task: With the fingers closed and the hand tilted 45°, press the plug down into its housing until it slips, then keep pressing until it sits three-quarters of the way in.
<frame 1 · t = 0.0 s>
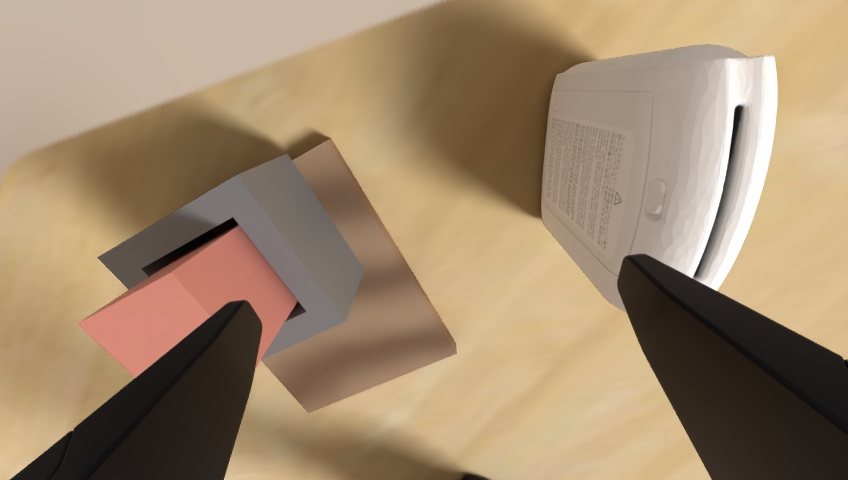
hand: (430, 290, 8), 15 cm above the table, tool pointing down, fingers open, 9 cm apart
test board: (320, 291, 27), on the table
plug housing: (280, 237, 25), resting on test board
plug: (211, 304, 17), point 9 cm above the table, slide at 0.0 cm
photo printer: (573, 152, 22), on the table
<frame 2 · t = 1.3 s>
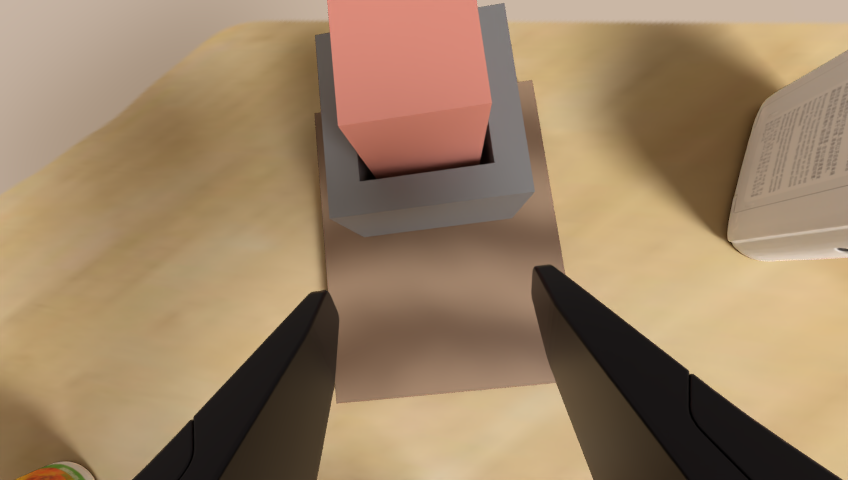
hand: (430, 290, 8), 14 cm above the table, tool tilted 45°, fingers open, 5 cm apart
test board: (438, 238, 22), on the table
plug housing: (429, 163, 23), resting on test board
plug: (415, 93, 15), point 8 cm above the table, slide at 0.0 cm
photo printer: (767, 181, 21), on the table
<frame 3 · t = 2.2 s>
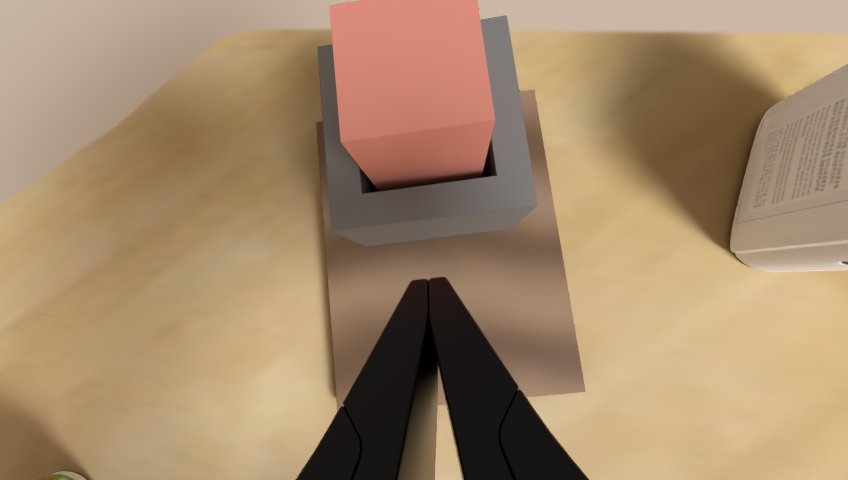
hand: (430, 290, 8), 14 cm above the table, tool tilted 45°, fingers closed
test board: (440, 248, 22), on the table
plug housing: (431, 172, 23), resting on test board
plug: (417, 106, 15), point 9 cm above the table, slide at 0.0 cm
photo printer: (770, 191, 21), on the table
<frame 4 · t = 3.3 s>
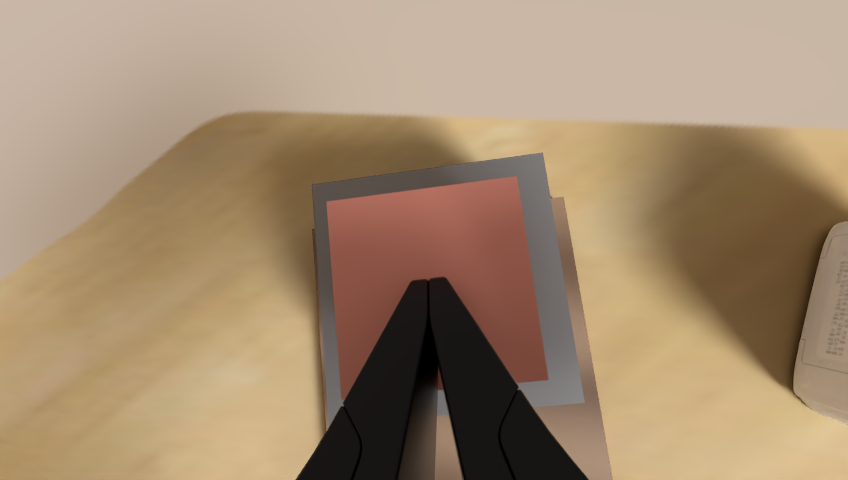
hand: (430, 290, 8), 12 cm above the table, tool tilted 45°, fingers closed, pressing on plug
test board: (455, 376, 19), on the table
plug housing: (444, 285, 20), resting on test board
plug: (436, 285, 12), point 8 cm above the table, slide at 0.1 cm, touching gripper
photo printer: (838, 318, 18), on the table
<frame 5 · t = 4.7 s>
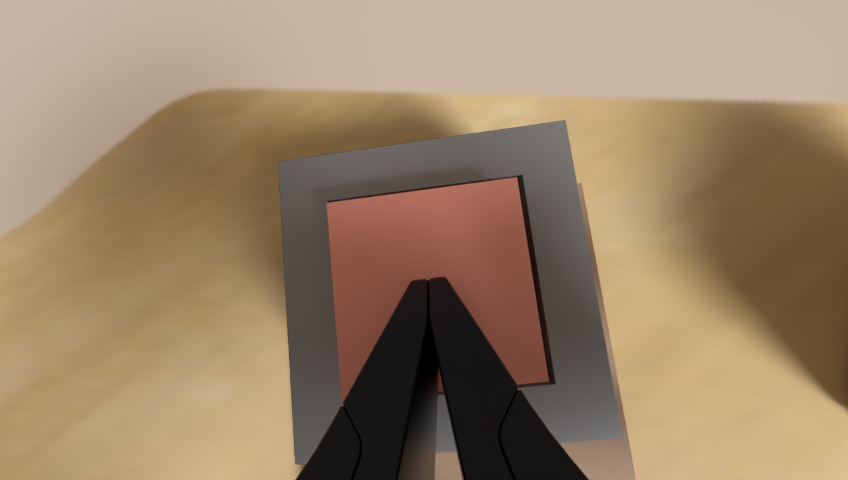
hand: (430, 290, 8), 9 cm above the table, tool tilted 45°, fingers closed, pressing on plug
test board: (455, 392, 17), on the table
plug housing: (442, 286, 17), resting on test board
plug: (437, 286, 12), point 6 cm above the table, slide at 2.8 cm, touching gripper
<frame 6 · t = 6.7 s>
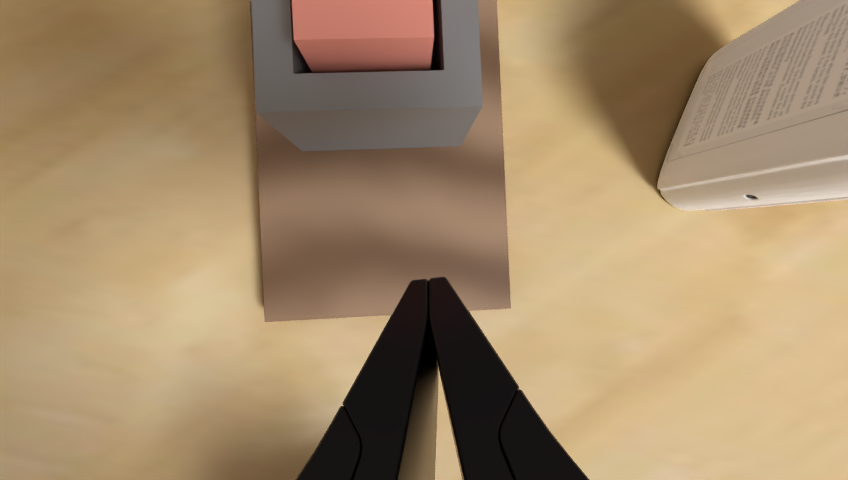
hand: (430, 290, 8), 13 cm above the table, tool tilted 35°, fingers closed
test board: (383, 162, 21), on the table
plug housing: (380, 79, 21), resting on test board
plug: (370, 21, 16), point 6 cm above the table, slide at 2.8 cm
photo printer: (700, 136, 22), on the table
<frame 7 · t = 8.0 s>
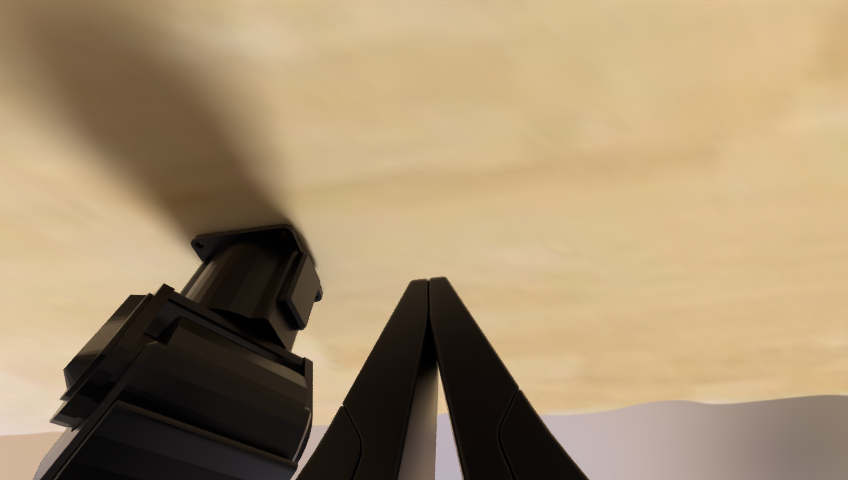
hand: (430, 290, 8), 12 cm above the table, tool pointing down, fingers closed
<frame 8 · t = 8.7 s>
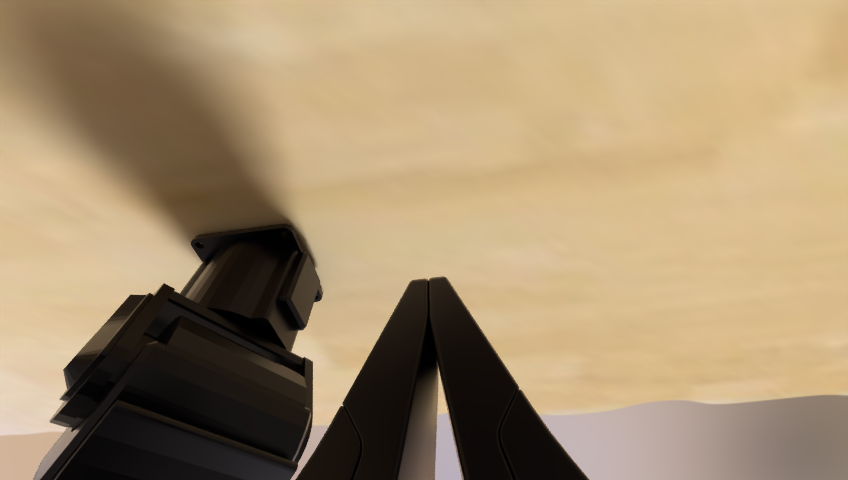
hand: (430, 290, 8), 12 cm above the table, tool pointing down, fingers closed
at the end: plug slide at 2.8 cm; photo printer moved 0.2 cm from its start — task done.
